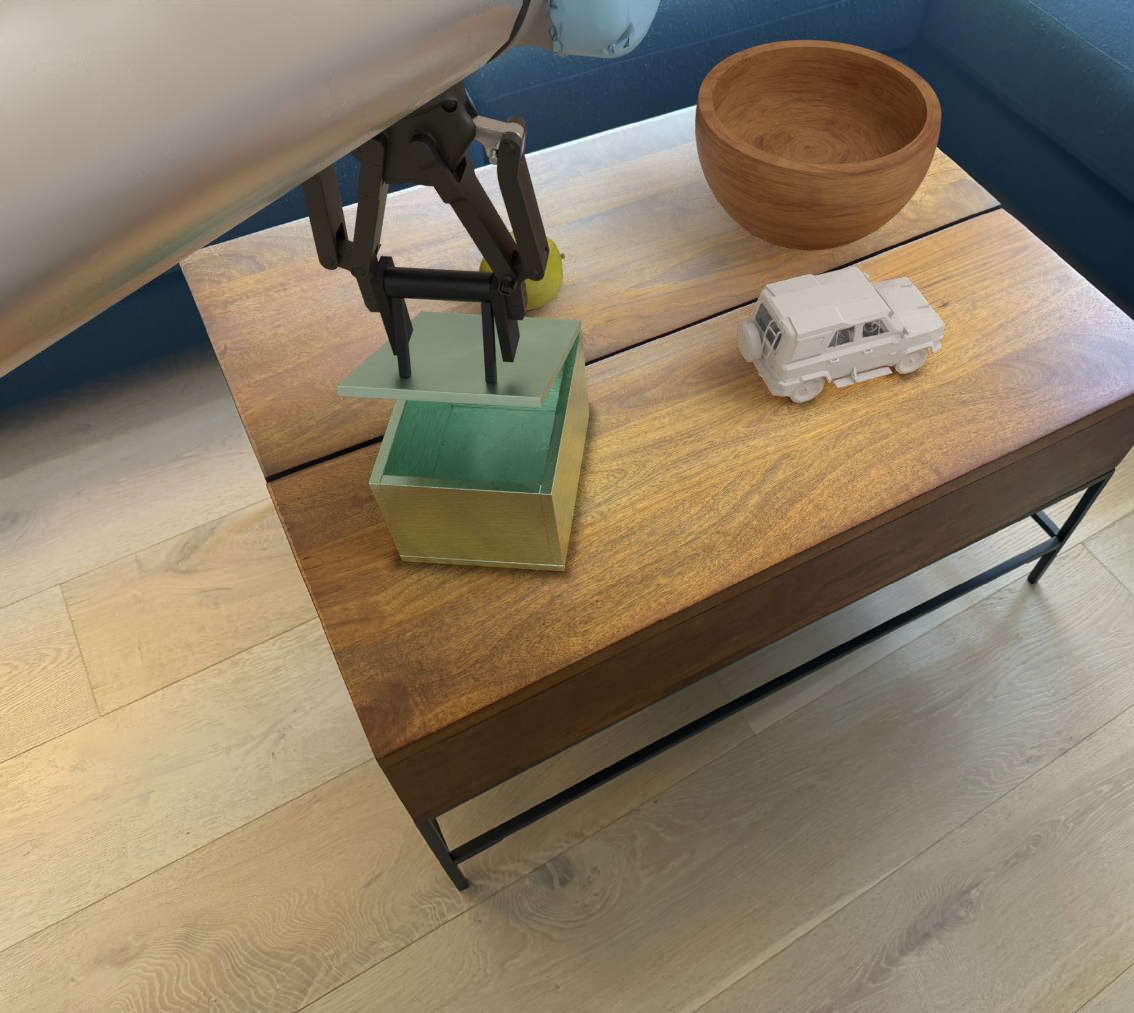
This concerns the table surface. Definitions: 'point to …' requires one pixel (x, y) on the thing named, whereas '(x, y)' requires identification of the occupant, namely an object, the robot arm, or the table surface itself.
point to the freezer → (485, 477)
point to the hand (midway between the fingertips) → (457, 345)
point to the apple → (550, 283)
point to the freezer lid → (459, 347)
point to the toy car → (837, 331)
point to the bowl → (814, 140)
